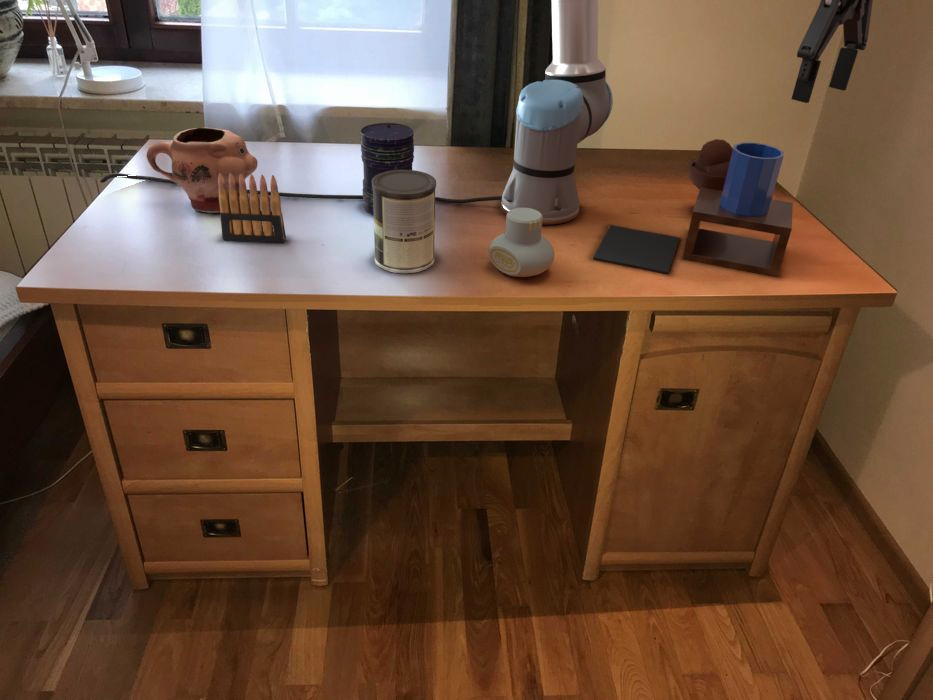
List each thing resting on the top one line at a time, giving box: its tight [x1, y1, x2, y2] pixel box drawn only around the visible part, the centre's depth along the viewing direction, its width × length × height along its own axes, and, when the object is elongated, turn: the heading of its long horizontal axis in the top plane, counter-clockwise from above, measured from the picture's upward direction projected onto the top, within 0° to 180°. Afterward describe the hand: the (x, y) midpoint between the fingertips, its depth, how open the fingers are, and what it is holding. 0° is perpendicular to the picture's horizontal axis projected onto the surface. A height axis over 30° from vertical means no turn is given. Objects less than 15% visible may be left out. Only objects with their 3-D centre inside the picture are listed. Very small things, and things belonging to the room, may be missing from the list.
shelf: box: [681, 188, 794, 278], centre depth 134 cm, size 16×12×9 cm
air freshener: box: [488, 208, 555, 278], centre depth 125 cm, size 11×8×10 cm
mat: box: [592, 224, 681, 275], centre depth 136 cm, size 13×15×1 cm
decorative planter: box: [146, 127, 259, 213], centre depth 141 cm, size 20×12×14 cm, turn 95°
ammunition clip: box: [218, 173, 287, 244], centre depth 130 cm, size 11×2×12 cm, turn 89°
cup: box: [720, 141, 785, 216], centre depth 128 cm, size 8×8×10 cm
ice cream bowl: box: [687, 138, 733, 191], centre depth 147 cm, size 11×11×15 cm
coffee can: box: [372, 169, 437, 274], centre depth 125 cm, size 10×10×14 cm
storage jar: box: [360, 122, 415, 216], centre depth 143 cm, size 10×10×15 cm
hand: (819, 94), depth 128 cm, fingers open, 13 cm apart
